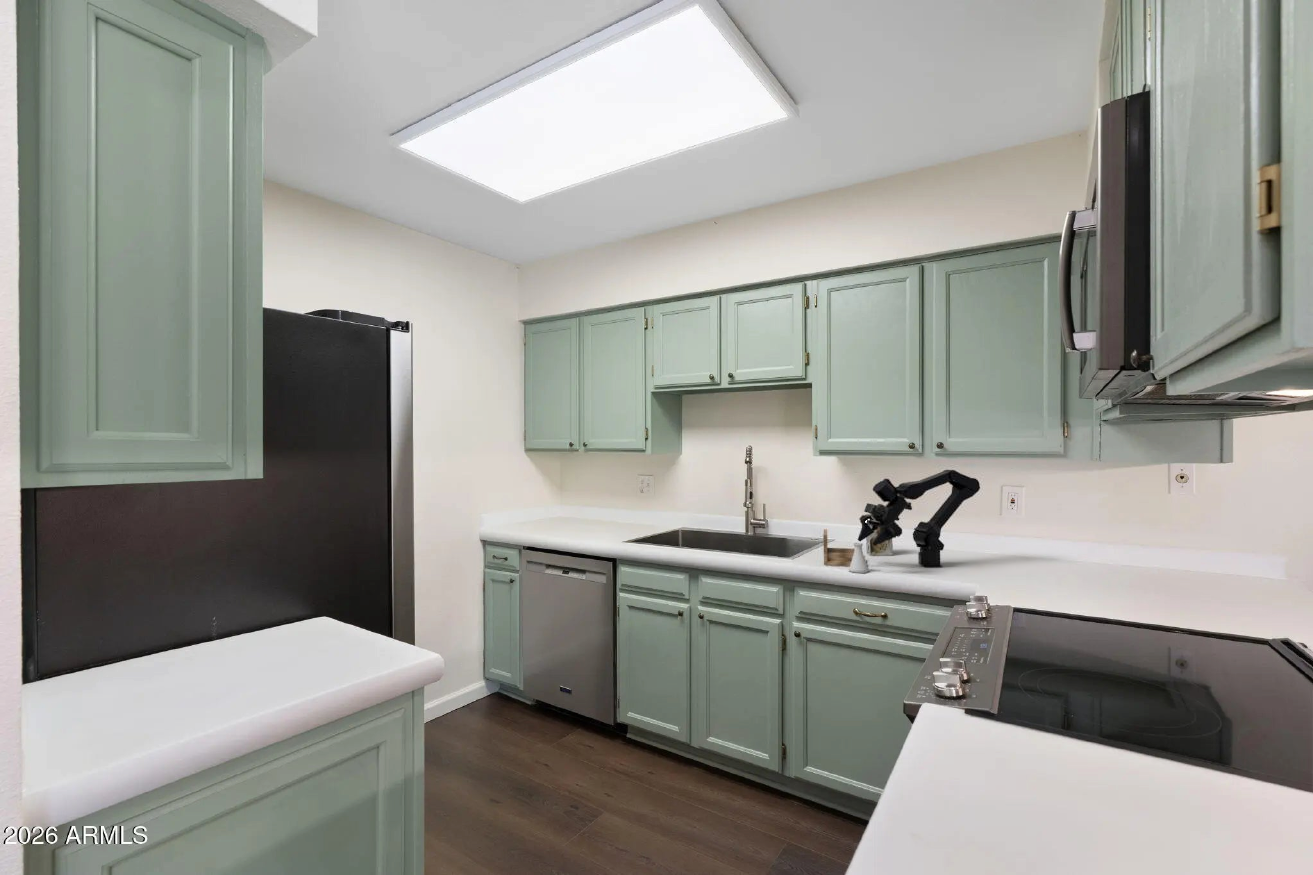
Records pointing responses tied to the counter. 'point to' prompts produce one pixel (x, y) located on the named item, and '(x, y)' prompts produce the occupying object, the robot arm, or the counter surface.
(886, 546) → the coffee box
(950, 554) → the counter surface
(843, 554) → the spice stand
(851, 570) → the flask
